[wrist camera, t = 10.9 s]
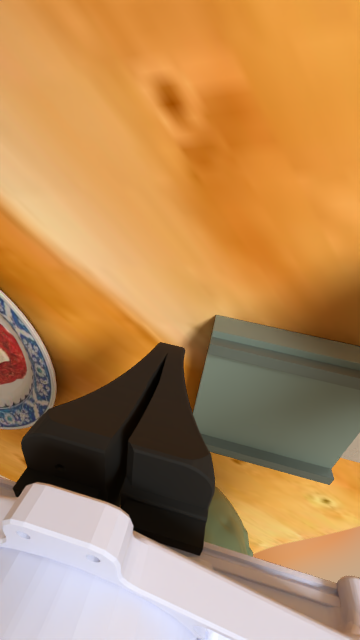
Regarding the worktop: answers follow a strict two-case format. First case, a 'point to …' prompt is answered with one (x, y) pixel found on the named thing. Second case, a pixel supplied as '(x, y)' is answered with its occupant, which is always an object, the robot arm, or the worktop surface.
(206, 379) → the case
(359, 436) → the cover plate
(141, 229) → the worktop surface
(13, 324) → the ceramic plate
